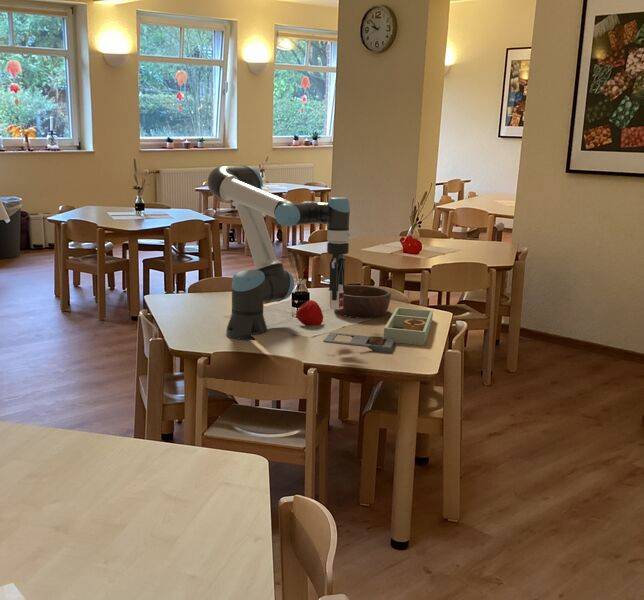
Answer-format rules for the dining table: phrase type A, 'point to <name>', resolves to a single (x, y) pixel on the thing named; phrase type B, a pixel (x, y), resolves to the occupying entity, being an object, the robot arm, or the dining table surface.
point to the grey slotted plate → (363, 342)
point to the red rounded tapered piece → (310, 313)
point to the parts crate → (408, 335)
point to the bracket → (414, 325)
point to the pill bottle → (341, 296)
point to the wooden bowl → (364, 301)
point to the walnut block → (376, 339)
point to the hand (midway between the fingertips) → (336, 307)
